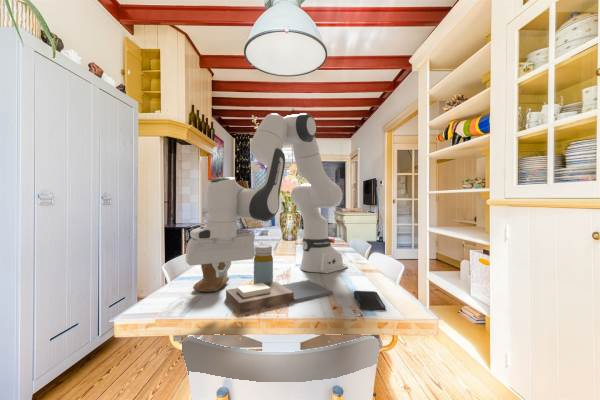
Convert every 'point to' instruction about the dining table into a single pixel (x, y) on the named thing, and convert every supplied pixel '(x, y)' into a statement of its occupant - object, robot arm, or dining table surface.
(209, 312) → the dining table surface
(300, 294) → the mat
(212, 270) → the stone cup
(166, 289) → the dining table surface
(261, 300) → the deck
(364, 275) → the dining table surface
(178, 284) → the dining table surface
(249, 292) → the tile
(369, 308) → the phone
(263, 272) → the bottle
